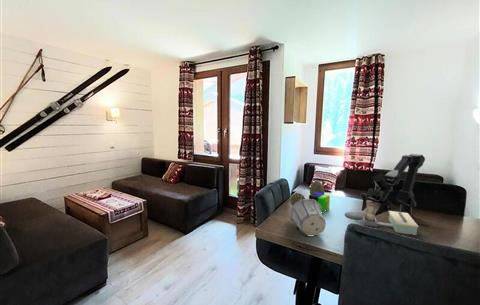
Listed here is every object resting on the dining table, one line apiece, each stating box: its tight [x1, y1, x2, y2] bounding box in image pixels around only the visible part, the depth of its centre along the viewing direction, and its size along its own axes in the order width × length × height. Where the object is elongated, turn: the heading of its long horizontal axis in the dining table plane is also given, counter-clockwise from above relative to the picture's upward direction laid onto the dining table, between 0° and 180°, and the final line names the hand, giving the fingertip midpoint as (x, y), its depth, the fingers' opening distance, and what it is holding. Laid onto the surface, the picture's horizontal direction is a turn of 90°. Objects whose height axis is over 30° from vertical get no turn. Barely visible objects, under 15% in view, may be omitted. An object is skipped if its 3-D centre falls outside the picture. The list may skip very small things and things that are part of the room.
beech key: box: [365, 201, 377, 221], centre depth 130 cm, size 5×5×13 cm
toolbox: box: [361, 210, 419, 236], centre depth 128 cm, size 19×24×6 cm
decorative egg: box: [309, 180, 325, 195], centre depth 171 cm, size 11×11×15 cm
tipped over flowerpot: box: [289, 192, 327, 236], centre depth 127 cm, size 18×18×30 cm
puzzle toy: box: [308, 192, 331, 213], centre depth 152 cm, size 10×10×10 cm
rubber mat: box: [344, 211, 363, 220], centre depth 141 cm, size 10×10×1 cm
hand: (368, 212), depth 129 cm, fingers open, 8 cm apart
